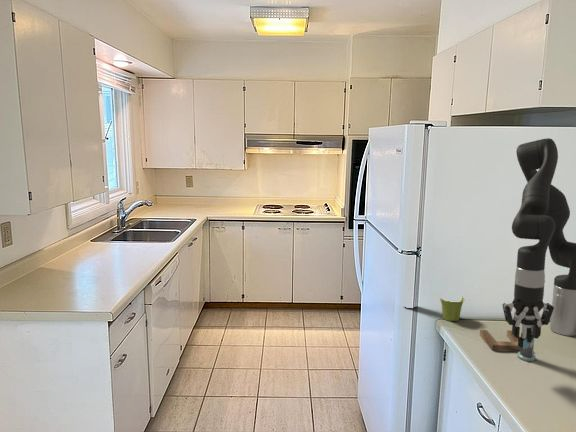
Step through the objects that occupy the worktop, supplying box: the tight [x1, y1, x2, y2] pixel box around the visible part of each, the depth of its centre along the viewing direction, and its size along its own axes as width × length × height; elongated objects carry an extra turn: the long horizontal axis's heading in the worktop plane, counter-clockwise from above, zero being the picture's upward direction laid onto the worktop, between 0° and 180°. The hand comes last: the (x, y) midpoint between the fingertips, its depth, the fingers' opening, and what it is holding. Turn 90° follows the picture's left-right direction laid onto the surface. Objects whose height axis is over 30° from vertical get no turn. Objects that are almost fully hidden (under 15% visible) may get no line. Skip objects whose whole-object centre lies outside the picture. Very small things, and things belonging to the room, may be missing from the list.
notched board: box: [479, 329, 521, 352], centre depth 151 cm, size 12×12×2 cm
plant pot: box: [438, 296, 465, 322], centre depth 172 cm, size 9×9×9 cm
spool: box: [517, 324, 536, 363], centre depth 140 cm, size 5×5×14 cm
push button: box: [518, 314, 538, 349], centre depth 129 cm, size 7×5×10 cm
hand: (525, 337), depth 129 cm, fingers closed on push button, 5 cm apart
